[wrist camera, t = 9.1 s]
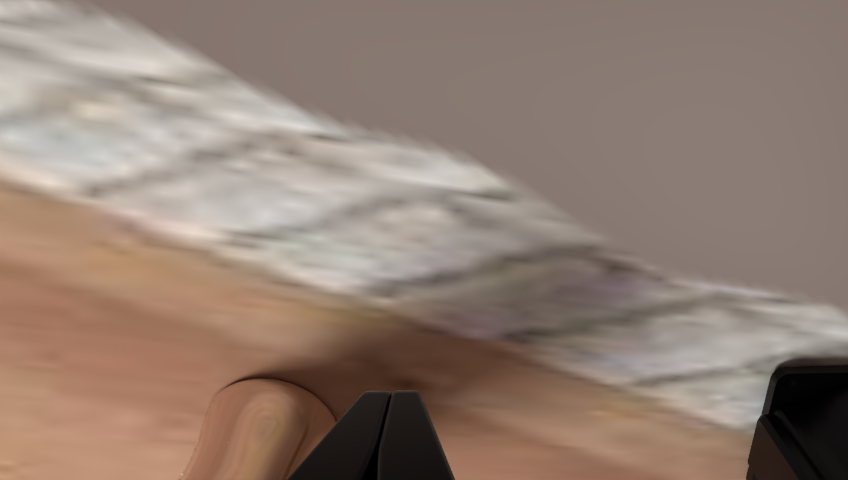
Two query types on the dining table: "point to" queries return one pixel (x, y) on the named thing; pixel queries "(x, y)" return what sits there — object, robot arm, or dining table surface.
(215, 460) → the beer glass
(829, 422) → the robot arm
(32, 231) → the dining table surface
